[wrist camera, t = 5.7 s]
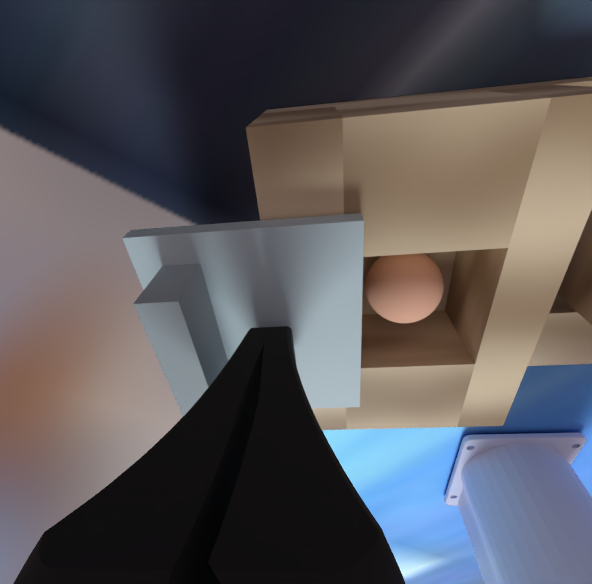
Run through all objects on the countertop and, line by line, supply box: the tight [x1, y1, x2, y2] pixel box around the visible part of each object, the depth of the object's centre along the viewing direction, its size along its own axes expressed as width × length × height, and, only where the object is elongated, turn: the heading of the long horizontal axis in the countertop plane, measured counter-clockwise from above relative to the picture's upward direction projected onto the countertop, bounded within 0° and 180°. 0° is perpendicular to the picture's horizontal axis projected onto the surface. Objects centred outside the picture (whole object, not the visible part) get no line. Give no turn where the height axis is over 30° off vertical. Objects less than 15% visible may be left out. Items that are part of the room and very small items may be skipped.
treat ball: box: [365, 253, 444, 323], centre depth 13 cm, size 3×3×3 cm
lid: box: [122, 213, 364, 416], centre depth 11 cm, size 8×7×3 cm
